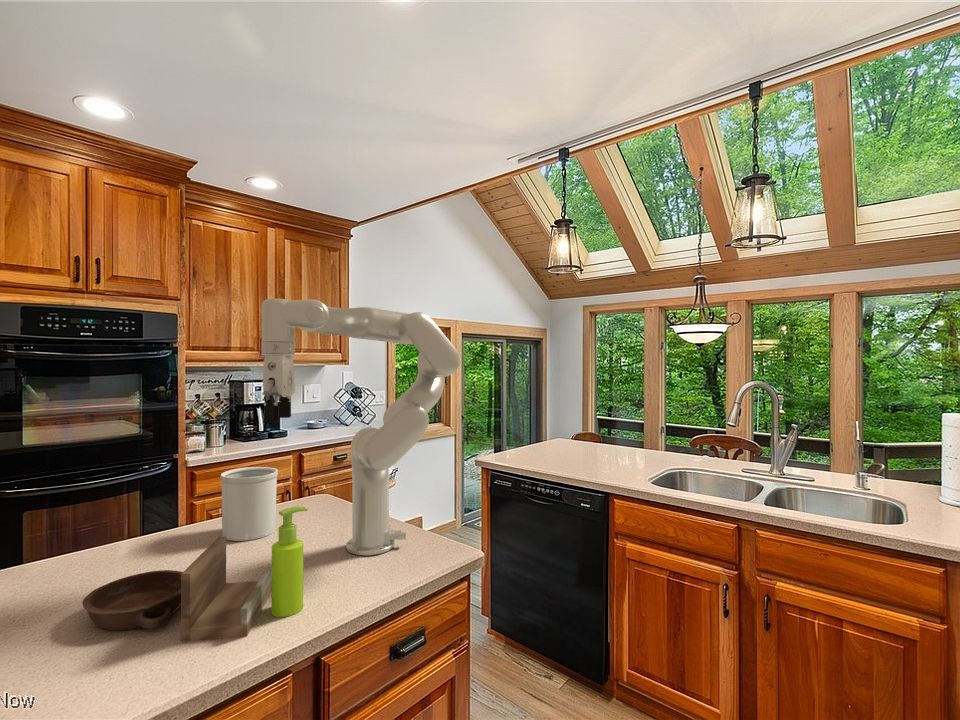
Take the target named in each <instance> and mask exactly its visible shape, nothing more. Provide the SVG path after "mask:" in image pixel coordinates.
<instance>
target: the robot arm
mask: <svg viewBox="0 0 960 720" xmlns="http://www.w3.org/2000/svg"><path fill="white" fill-rule="evenodd" d="M296 328H297V329H300V331H304V332H308V333H315V334H323V335H332V336H341V337H347V338H353V339H359V340H368V341H369V340H370V341H376V342H377V341H378V342H385V343H392V344H398V345H399V344H400V345H414V346H413V347H415V348H416V349H417V351H418V353H419V354H418V356H417V377H416V379H415V380H414V382H413V383H412V384H411V385H410V387H409V388H408V389H406V391H404V392H403V393H402V394H401V395H400V396H399V397H398V398H397V399H396V400H394V401H393V402H392V403H391V404H390V405H389V406H388V407H387V408H386V409H385V410H384V412H383V415H382V422H383V425H381V427H380V428H377V427H363V428H362V429H359V430H358V431H357V432H356V433H355V435H354V436H353V437H352V440H351V443H350V460H351V474H352V475H351V477H352V480H351V481H352V494H351V495H352V496H351V497H352V510H351V511H352V516H351V517H352V518H351V519H352V521H351V522H352V524H351V526H352V529H351V531H352V532H351V535H352V536H351V537H352V538H350V539H349V540H348V541H347V542H346V544H345V549H346V551H347V552H349V553H350V554H353V555H355V556H356V555H357V556H376V555H381V554H383V553H384V554H385V553H386V552H389V551H390V550H392V549H393V548H395V542H396V541H397V540H399V541H400V540H401V541H403V540H407V539H406V538H407V532H406V531H402V529H397V530H393V529H391V524H390V475H389V474H390V473H389V471H390V470H389V469H391V468H392V467H393V466H394V465H395V464H397V462H399V461H400V459H402V458H403V457H404V456H405V455H406V454H407V453H408V452H409V451H410V450H411V449H412V448H413V447H414V446H415V445H416V444H417V443H418V442H419V441H420V440H421V439H422V437H423V436H424V435H425V433H426V431H427V430H428V426H429V423H430V417H429V414H428V413H429V412H430V411H431V409H433V408H434V407H435V406H436V404H437V403H438V401H439V400H440V398H441V397H442V396H443V392H444V388H445V379H446V377H450V376H452V375H453V374H455V373H456V372H457V371H458V369H459V367H460V365H461V364H460V363H461V359H460V354H459V352H458V350H457V348H456V347H455V346H454V344H453V343H452V342H451V341H450V339H449V338H448V337H447V336H446V335H445V333H444V332H443V331H442V330H441V329H440V327H439V326H438V324H436V322H435V321H434V320H433V319H432V318H431V317H430V316H429V315H428V314H426V313H424V312H420V311H418V312H417V311H416V312H415V311H414V312H410V313H406V312H399V311H393V310H389V309H388V310H386V309H380V308H375V307H369V306H368V307H367V306H365V307H364V306H362V307H351V308H347V307H345V308H344V307H333V306H327V305H326V304H325V303H323V301H320V300H318V299H314V298H313V299H312V298H311V299H310V298H308V299H296V300H295V299H293V300H292V299H291V300H290V299H286V298H285V299H284V298H267V299H264V300H263V301H262V303H261V353H260V355H261V356H263V357H264V360H263V371H262V373H263V375H262V391H263V395H264V396H263V399H264V402H263V406H264V407H263V421H264V423H265V424H277V423H279V422H280V418H281V419H286V418H287V419H288V418H291V417H292V397H291V396H292V395H294V394H295V391H296V389H295V387H296V385H295V382H296V381H295V369H294V358H293V357H294V356H295V355H296V354H295V353H296V347H295V346H296V345H295V344H296V343H295V342H296ZM395 540H396V541H395Z"/></svg>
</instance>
